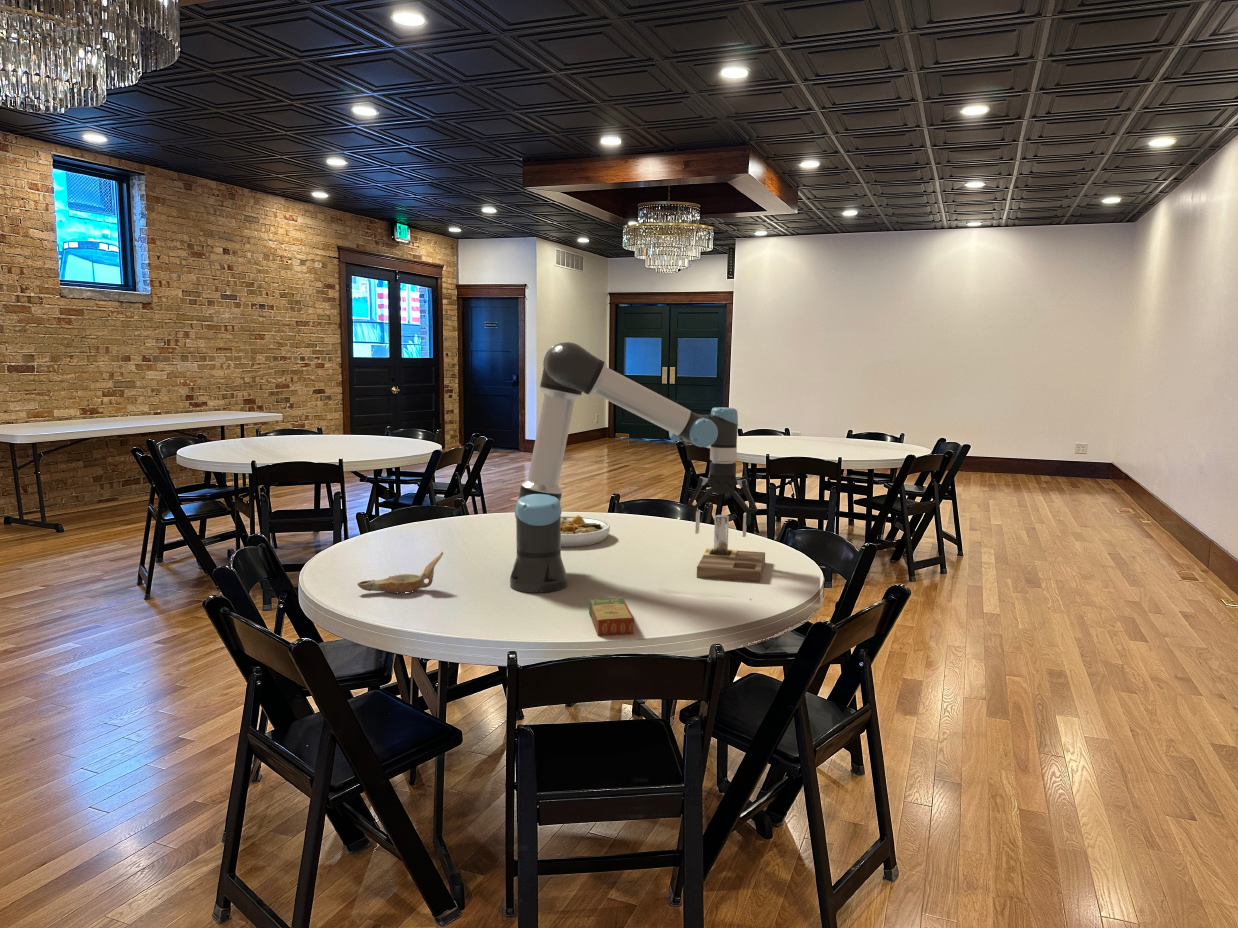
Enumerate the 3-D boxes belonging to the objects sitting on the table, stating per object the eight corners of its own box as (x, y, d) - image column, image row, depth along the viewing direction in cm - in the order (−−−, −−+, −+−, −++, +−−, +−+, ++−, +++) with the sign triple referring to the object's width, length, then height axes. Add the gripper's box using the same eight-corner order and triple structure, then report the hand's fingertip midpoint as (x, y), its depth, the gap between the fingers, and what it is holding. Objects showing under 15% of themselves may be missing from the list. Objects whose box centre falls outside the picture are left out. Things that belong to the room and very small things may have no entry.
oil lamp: (444, 594, 204) (443, 555, 203) (356, 599, 199) (355, 560, 198) (443, 584, 213) (442, 547, 211) (358, 589, 207) (357, 551, 206)
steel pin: (726, 565, 231) (728, 517, 229) (712, 564, 232) (714, 517, 230) (727, 562, 235) (729, 515, 233) (714, 561, 236) (715, 514, 234)
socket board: (759, 585, 214) (760, 570, 213) (696, 581, 218) (696, 565, 217) (764, 565, 235) (765, 551, 235) (707, 561, 239) (707, 547, 239)
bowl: (624, 535, 276) (624, 512, 275) (584, 553, 249) (584, 529, 248) (548, 526, 288) (548, 505, 287) (502, 543, 261) (502, 520, 260)
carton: (597, 637, 174) (597, 618, 174) (588, 614, 190) (588, 597, 189) (634, 635, 175) (634, 616, 175) (623, 613, 191) (623, 595, 191)
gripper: (768, 462, 230) (765, 534, 233) (682, 458, 236) (680, 528, 239) (766, 465, 223) (763, 540, 225) (677, 461, 229) (675, 534, 231)
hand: (720, 534), depth 232 cm, fingers open, 13 cm apart
